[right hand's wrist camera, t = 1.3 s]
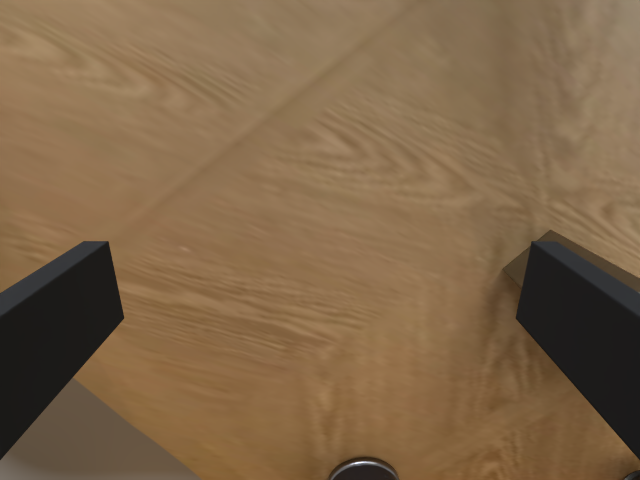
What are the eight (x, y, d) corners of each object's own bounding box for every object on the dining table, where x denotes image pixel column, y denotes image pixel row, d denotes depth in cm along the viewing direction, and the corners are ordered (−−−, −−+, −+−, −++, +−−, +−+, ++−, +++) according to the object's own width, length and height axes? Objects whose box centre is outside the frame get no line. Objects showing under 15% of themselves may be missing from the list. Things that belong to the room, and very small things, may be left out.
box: (502, 269, 41) (577, 337, 29) (550, 229, 39) (650, 284, 28) (619, 392, 46) (722, 491, 35) (665, 361, 45) (789, 454, 33)
